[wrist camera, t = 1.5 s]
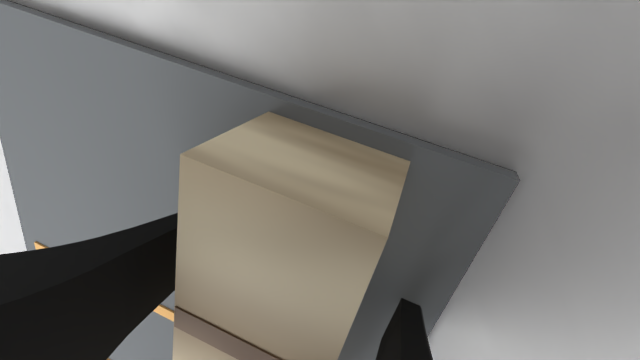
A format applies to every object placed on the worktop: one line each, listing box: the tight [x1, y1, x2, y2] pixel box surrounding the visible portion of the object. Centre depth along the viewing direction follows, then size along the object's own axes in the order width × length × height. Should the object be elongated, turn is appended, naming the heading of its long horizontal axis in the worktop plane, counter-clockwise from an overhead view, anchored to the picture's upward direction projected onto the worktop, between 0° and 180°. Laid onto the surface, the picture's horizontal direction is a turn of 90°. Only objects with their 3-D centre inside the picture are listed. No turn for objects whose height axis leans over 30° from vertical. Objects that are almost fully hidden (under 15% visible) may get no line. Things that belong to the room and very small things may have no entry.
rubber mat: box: [0, 0, 520, 360], centre depth 16 cm, size 21×20×1 cm
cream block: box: [172, 112, 411, 360], centre depth 11 cm, size 10×4×4 cm, turn 166°
